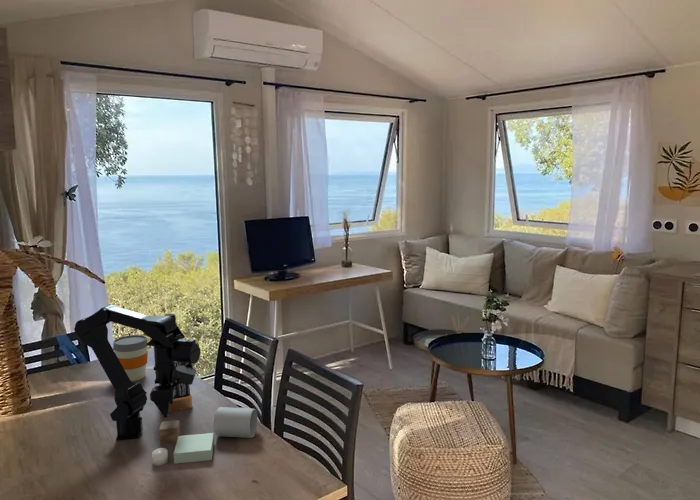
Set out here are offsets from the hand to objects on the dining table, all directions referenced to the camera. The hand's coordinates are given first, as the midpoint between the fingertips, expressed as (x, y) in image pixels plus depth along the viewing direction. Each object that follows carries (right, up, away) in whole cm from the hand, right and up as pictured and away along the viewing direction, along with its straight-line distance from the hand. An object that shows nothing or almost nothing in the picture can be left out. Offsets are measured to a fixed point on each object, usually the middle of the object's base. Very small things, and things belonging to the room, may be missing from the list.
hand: (168, 410), depth 164 cm
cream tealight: (+1, -11, -10) cm, 15 cm away
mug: (+14, -4, +5) cm, 16 cm away
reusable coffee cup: (-31, -2, +51) cm, 60 cm away
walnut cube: (0, -9, +1) cm, 10 cm away
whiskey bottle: (-6, -6, +25) cm, 27 cm away
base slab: (+10, -10, -6) cm, 15 cm away
